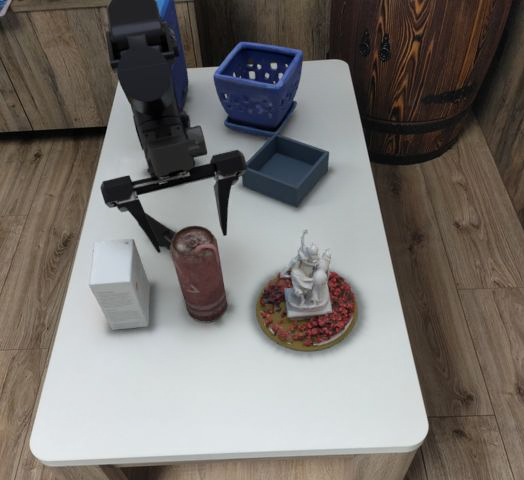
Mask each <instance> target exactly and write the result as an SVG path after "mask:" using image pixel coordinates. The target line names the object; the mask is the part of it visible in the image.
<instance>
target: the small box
mask: <svg viewBox="0 0 524 480" xmlns="http://www.w3.org/2000/svg"><path fill="white" fill-rule="evenodd" d="M90 266H91V267H90V275H89V282H88V287H89V288H90V290H91V292H92V294H93V296H94V298H95V299H96V302H97V303H98V306H99V307H100V309H101V311H102V313H103V315H104V317H105V319H106V320H107V322H108V325H109V326H110V328H111V330H113V331H114V330H125V329H135V328H146V327H149V325H150V322H149V321H150V299H151V298H150V295H151V284H150V281H149V278H148V275H147V273H146V270H145V266H144V264H143V262H142V259H141V255H140V253H139V250H138V247H137V245H136V242H135V239H134V238H126V239H115V240H103V241H95V242H93V249H92V257H91V265H90Z"/></svg>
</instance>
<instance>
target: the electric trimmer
mask: <svg viewBox="0 0 524 480" xmlns="http://www.w3.org/2000/svg"><path fill="white" fill-rule="evenodd" d="M145 214H146V216H147V218H148V221H149V223H150V225H151V227H152V230H153V232H154V234H155V236H156V239H157V241H158V244H159V247H160V248H166V249H168V250H169V251H170V245H171V243H172V239H173V236H174V235H175V234H176V233H177V232H175V231H173V230H172V229H170V228H169V227H167V226H166V225H164V224H163V223H161V222H160V221H158V220H157V219H156V218H154V217H153V216H151V215H149V214H148V213H147V212H145ZM137 224H138V226H139V227H140V229H142V227H141V226H140V224H139V223H138V222H137Z"/></svg>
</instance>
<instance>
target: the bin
mask: <svg viewBox="0 0 524 480" xmlns="http://www.w3.org/2000/svg"><path fill="white" fill-rule="evenodd" d="M329 160H330V150H329V151H328V150H325V149H323V148H319V147H316V146H314V145H311V144H308V143H305V142H302V141H300V140H296V139H295V138H290V137H288V136H285V135H282V134H280V133H279V134H276V133H275V134H274V135H273V136H272V137H271V138H268V140H266V142H265V143H263V145H261V147H260V148H259V149H258V150H257V151H255V153H253V155H252V156H251V157H250V158H249V159H248V160H247V161H245V162H246V166H247V171H246V172H245V173H244V174H243V175H242V176H241V177H242V178H241V181H242V187H244V188H246V189H249V190H252V191H254V192H257V193H259V194H262V195H264V196H266V197H269V198H271V199H274V200H276V201H279V202H282V203H284V204H287V205H289V206H291V207H294V208H298V207H299V206H300V204H301V203H302V202H303V201H304V200H305V199H306V198H307V196H308V195H309V194H310V192H311V191H312V190H313V189H314V188H315V187H316V185H317V184H318V183H319V182H320V181H321V179H322V178H323V177H324V176H325V175H326V173H328V170H329V162H330V161H329Z"/></svg>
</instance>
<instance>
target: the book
mask: <svg viewBox="0 0 524 480" xmlns="http://www.w3.org/2000/svg"><path fill="white" fill-rule="evenodd" d="M156 2H157V5H158V9H159V14H160V18H161V22H167V24H169V27H170V29H171V30H172V31H173V32H174V35H175V39H176V42H177V46H178V52H179V57H175V61H176V63H174V64H169V66H170V70H171V76H172V83H173V91H174V94H175V95H176V97H177V101H178V106H179V107H183V109H184V108H185V104H186V100H187V95H188V92H189V91H188V88H189V75H188V68H187V62H186V58H185V52H184V46H183V42H182V35H181V31H180V25H179V19H178V13H177V8H176V3H175V0H156Z"/></svg>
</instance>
